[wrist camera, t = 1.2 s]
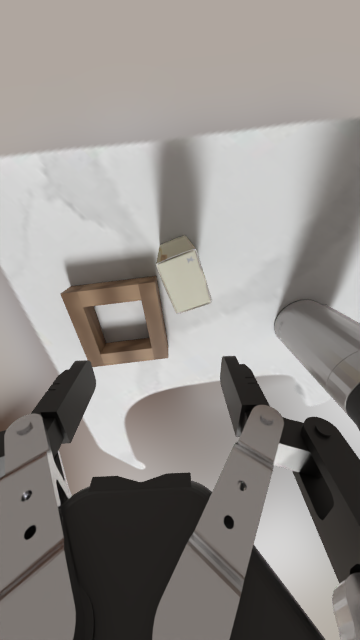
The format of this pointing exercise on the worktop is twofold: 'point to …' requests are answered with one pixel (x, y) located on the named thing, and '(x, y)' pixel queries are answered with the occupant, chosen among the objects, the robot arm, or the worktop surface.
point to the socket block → (91, 295)
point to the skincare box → (182, 275)
